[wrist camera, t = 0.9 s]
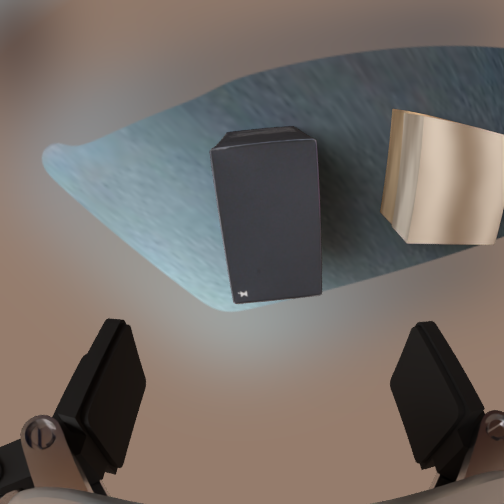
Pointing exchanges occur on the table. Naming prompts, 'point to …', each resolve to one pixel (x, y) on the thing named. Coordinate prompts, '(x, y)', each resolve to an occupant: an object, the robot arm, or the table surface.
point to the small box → (269, 213)
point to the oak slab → (394, 162)
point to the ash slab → (449, 183)
